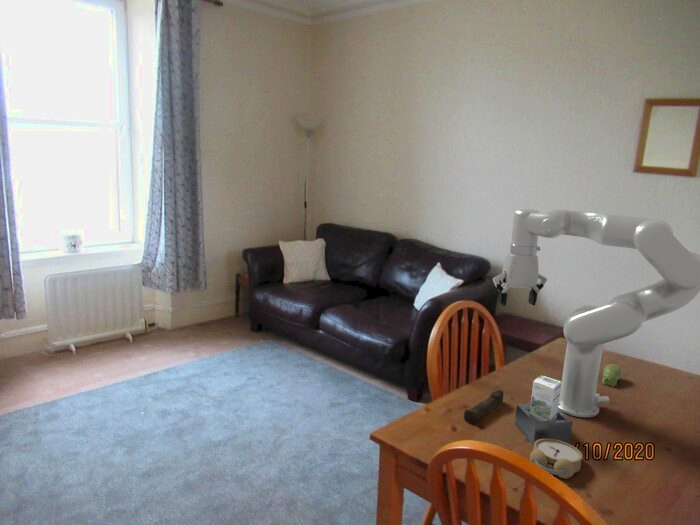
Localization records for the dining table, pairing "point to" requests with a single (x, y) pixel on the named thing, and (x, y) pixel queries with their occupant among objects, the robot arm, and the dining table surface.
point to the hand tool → (484, 407)
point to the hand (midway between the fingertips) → (517, 304)
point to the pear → (611, 375)
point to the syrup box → (545, 398)
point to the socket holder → (542, 425)
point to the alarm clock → (556, 457)
